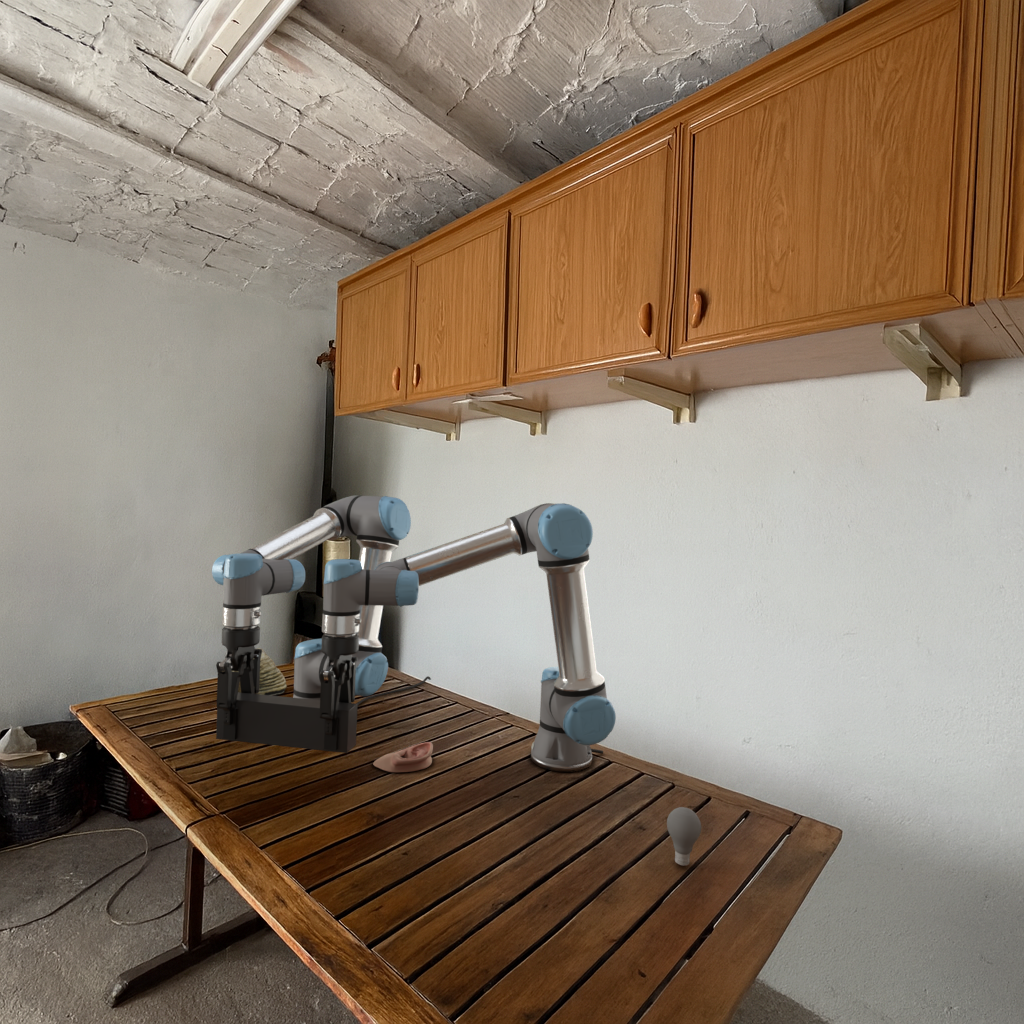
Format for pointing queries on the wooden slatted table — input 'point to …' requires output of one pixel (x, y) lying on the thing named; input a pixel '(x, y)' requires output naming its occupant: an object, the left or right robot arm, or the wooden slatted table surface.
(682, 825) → the light bulb
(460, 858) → the wooden slatted table surface
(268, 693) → the fossil
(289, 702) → the bar
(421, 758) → the anatomical model
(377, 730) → the wooden slatted table surface
